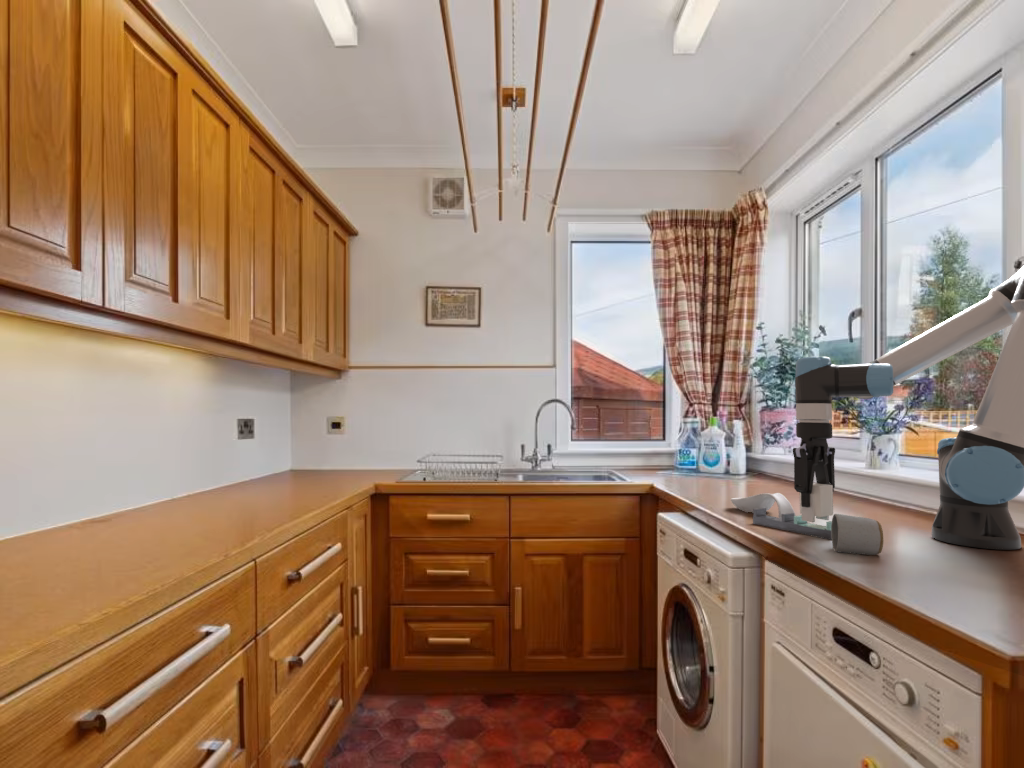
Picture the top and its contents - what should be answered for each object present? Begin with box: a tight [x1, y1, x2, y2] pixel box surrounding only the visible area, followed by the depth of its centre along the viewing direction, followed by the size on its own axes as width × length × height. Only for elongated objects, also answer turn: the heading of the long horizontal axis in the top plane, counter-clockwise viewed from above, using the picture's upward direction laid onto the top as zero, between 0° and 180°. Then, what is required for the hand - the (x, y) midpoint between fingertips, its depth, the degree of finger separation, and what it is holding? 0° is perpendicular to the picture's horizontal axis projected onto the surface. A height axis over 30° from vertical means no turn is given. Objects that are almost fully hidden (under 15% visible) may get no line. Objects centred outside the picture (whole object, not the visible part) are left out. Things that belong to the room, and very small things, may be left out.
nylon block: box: [798, 482, 834, 517], centre depth 125 cm, size 5×5×7 cm
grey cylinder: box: [831, 513, 884, 556], centre depth 110 cm, size 11×8×8 cm
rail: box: [752, 508, 832, 540], centre depth 130 cm, size 20×4×4 cm, turn 29°
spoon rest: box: [730, 492, 797, 518], centre depth 151 cm, size 24×12×7 cm, turn 6°
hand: (815, 519), depth 125 cm, fingers closed on nylon block, 5 cm apart
